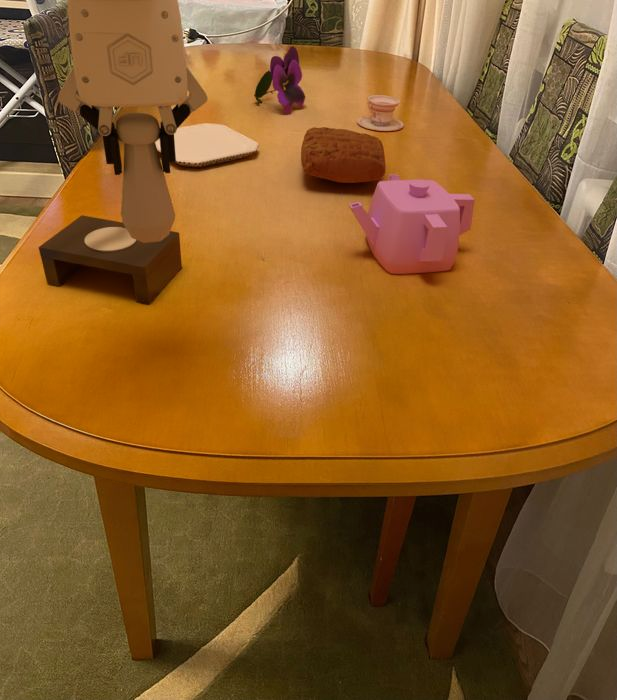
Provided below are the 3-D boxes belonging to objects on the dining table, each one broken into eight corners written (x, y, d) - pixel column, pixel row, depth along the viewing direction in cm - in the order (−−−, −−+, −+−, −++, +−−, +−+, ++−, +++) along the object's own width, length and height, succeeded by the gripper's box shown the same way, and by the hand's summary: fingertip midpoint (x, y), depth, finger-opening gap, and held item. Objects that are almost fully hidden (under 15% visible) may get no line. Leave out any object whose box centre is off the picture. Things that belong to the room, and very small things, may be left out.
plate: (184, 175, 122) (183, 164, 121) (137, 144, 134) (136, 134, 133) (267, 156, 133) (267, 146, 131) (217, 130, 145) (216, 120, 144)
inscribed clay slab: (382, 200, 118) (388, 160, 113) (295, 193, 118) (297, 152, 113) (381, 160, 135) (386, 123, 130) (305, 153, 136) (307, 117, 131)
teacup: (412, 125, 156) (416, 100, 153) (385, 135, 149) (388, 109, 145) (375, 114, 162) (378, 90, 159) (347, 123, 155) (349, 98, 151)
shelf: (47, 284, 87) (37, 245, 83) (88, 250, 96) (81, 213, 92) (149, 305, 84) (144, 266, 81) (182, 267, 93) (179, 231, 89)
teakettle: (434, 290, 92) (451, 215, 84) (337, 257, 98) (345, 184, 91) (472, 248, 104) (490, 179, 96) (384, 221, 110) (393, 154, 103)
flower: (250, 129, 162) (288, 114, 154) (227, 72, 157) (266, 53, 148) (279, 117, 172) (317, 102, 164) (259, 62, 167) (297, 44, 159)
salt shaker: (186, 229, 70) (177, 113, 62) (159, 250, 65) (146, 128, 57) (141, 219, 71) (128, 104, 63) (113, 239, 67) (94, 119, 59)
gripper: (9, -35, 48) (54, 186, 59) (222, -26, 52) (227, 180, 63) (21, -45, 54) (60, 159, 65) (211, -36, 57) (217, 154, 68)
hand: (142, 167), depth 64 cm, fingers closed on salt shaker, 4 cm apart
